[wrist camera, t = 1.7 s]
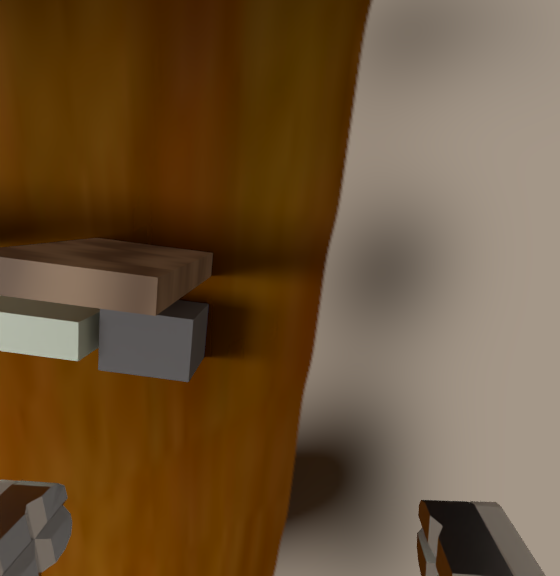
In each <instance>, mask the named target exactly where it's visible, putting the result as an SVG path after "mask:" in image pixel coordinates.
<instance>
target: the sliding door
mask: <svg viewBox="0 0 560 576" xmlns="http://www.w3.org/2000/svg"><path fill="white" fill-rule="evenodd" d="M99 320H100V309H99V308H92V307H84V306H76V305H69V304H61V303H54V302H46V301H39V300H31V299H23V298H16V297H8V296H1V295H0V351H5V352H13V353H20V354H28V355H35V356H43V357H50V358H58V359H65V360H73V361H79V360H81V359H82V358H84V357H85V356H87V355H88V354H90V353H91V352H93V351H94V350H95V349H97V348H98V347H99Z"/></svg>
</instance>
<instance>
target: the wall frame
mask: <svg viewBox="0 0 560 576" xmlns="http://www.w3.org/2000/svg"><path fill="white" fill-rule="evenodd" d="M212 260H213V253H210V252H202V251H195V250H187V249H179V248H172V247H164V246H156V245H149V244H141V243H133V242H126V241H118V240H110V239H103V238H89V239H79V240H70V241H60V242H50V243H41V244H31V245H21V246H11V247H2V248H1V247H0V295H1V296H8V297H16V298H23V299H31V300H39V301H46V302H54V303H61V304H69V305H76V306H84V307H92V308H99V309H107V310H114V311H122V312H129V313H137V314H145V315H152V316H156V315H158V314H159V313H160V312H162V311H163V310H165V309H166V308H167V307H169V306H170V305H172V304H173V303H174V302H176V301H177V300H178V299H180V298H181V297H183V296H184V295H185V294H187V293H188V292H190V291H191V290H192V289H194V288H195V287H197V286H198V285H199V284H201V283H202V282H203V281H205V280H206V279H208V278H209V277H210V276H211V271H212Z"/></svg>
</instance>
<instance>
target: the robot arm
mask: <svg viewBox="0 0 560 576" xmlns="http://www.w3.org/2000/svg"><path fill="white" fill-rule="evenodd" d="M66 499H67V494H66V490H65V486H64V485H61V484H58V483H46V482H33V481H12V480H0V576H41V573H42V572H43V571H44V570H46V569H47V568H49V567H50V566H51V565H53V564H54V563H56V561H57V560H58V559H59V557H60V556H61V554H62V553H63V551H64V550H65V548H66V546H67V543H68V541H69V538H70V536H71V529H72V519H71V514H70V513H69V512H68V510H67V509H66V508H65V507H64V506H63V504H64V503H65V501H66ZM418 515H419V519H420V521H421V525H422V529H421V530H420V531H419V532H418V533H417V552H418V562H419V567H420V572H421V576H545V574H544V572H543V571H542V569H541V568H540V566H539V565H538V563H537V562H536V560H535V558H534V557H533V555H532V554H531V552H530V551H529V549H528V548H527V546H526V545H525V543H524V541H523V540H522V538H521V537H520V535H519V534H518V532H517V531H516V529H515V527H514V526H513V524H512V523H511V521H510V520H509V518H508V517H507V515H506V513H505V512H504V511H503V509H502V507H501V506H500V505H499V504H497V503H496V502H473V501H471V502H465V501H437V500H421V502H420V504H419V514H418Z"/></svg>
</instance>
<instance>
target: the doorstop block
mask: <svg viewBox="0 0 560 576" xmlns="http://www.w3.org/2000/svg"><path fill="white" fill-rule="evenodd" d="M208 307H209V304H206V303H198V302H191V301H183V300H177V301H176V302H174V303H173V304H172V305H170V306H169V307H167V308H166V309H165V310H163V311H162V312H160V313H159V314H158V315H156V316H152V315H145V314H137V313H129V312H122V311H114V310H107V309H100V320H99V362H98V370H102V371H110V372H117V373H125V374H132V375H140V376H147V377H155V378H162V379H170V380H177V381H185V382H189V380H190V379H191V377H192V376H193V374H194V372H195V371H196V369H197V368H198V366H199V364H200V363H201V361H202V360H203V358H204V352H205V341H206V329H207V318H208Z"/></svg>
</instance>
